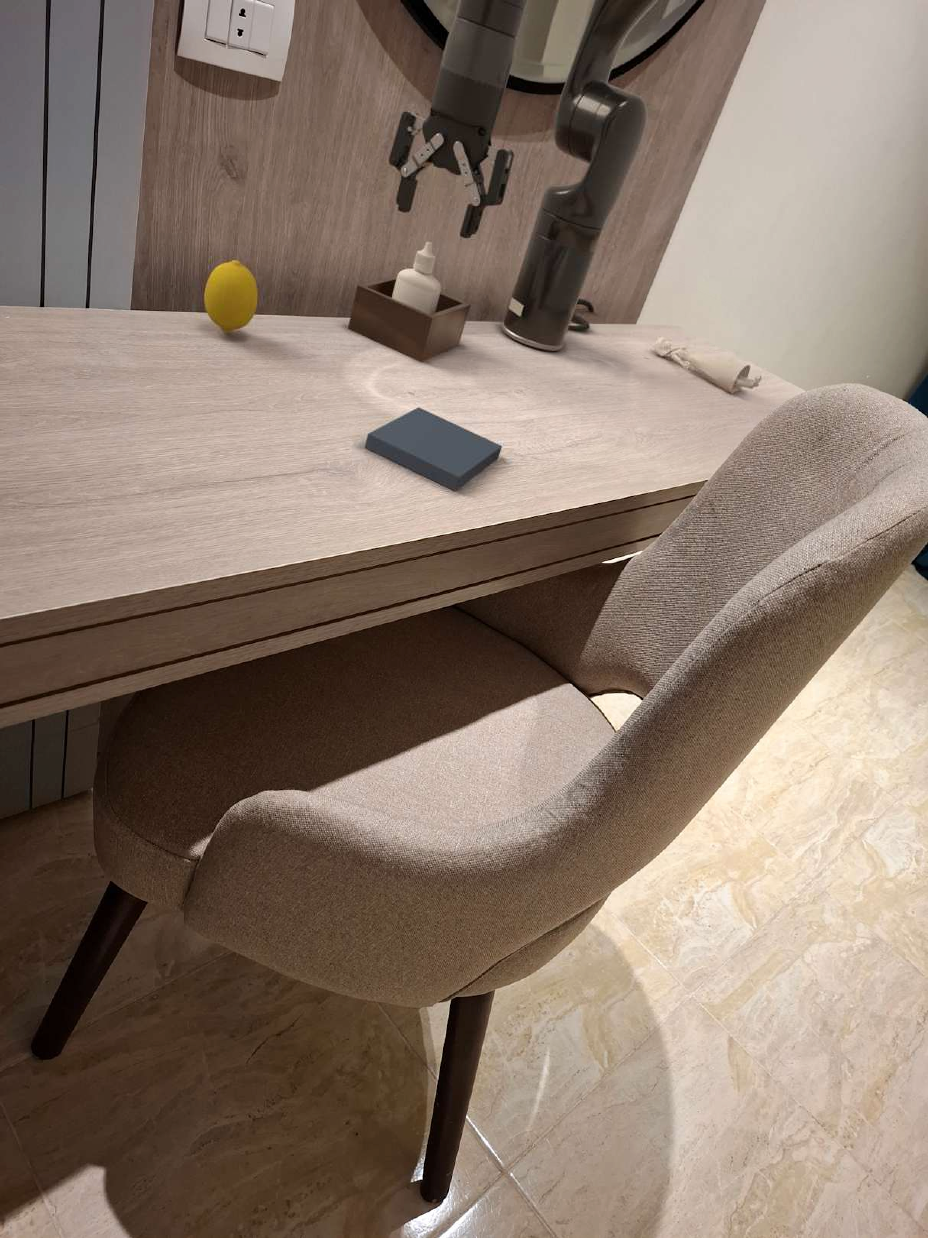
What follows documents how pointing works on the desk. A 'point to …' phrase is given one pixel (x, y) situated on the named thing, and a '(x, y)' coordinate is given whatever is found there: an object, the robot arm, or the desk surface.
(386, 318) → the box
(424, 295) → the eye dropper bottle
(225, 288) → the lemon
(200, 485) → the desk surface
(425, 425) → the block
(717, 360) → the woman figurine
